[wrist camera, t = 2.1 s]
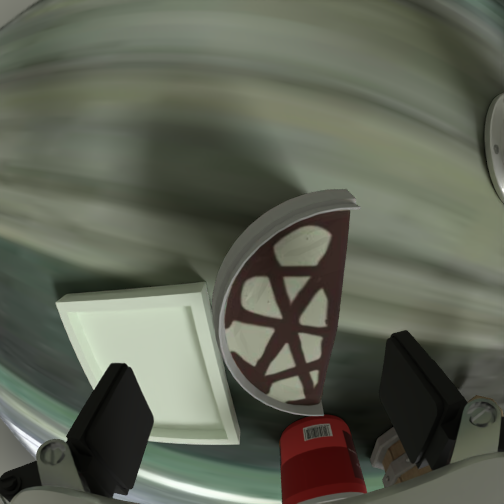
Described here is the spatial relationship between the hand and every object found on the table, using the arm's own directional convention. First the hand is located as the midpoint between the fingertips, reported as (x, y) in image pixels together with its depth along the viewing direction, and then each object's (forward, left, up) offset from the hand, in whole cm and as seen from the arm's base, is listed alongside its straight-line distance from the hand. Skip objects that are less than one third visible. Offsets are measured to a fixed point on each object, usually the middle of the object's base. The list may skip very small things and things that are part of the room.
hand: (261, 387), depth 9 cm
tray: (+11, +10, -13) cm, 20 cm away
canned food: (-4, +21, -13) cm, 25 cm away
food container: (-1, 0, -13) cm, 13 cm away
